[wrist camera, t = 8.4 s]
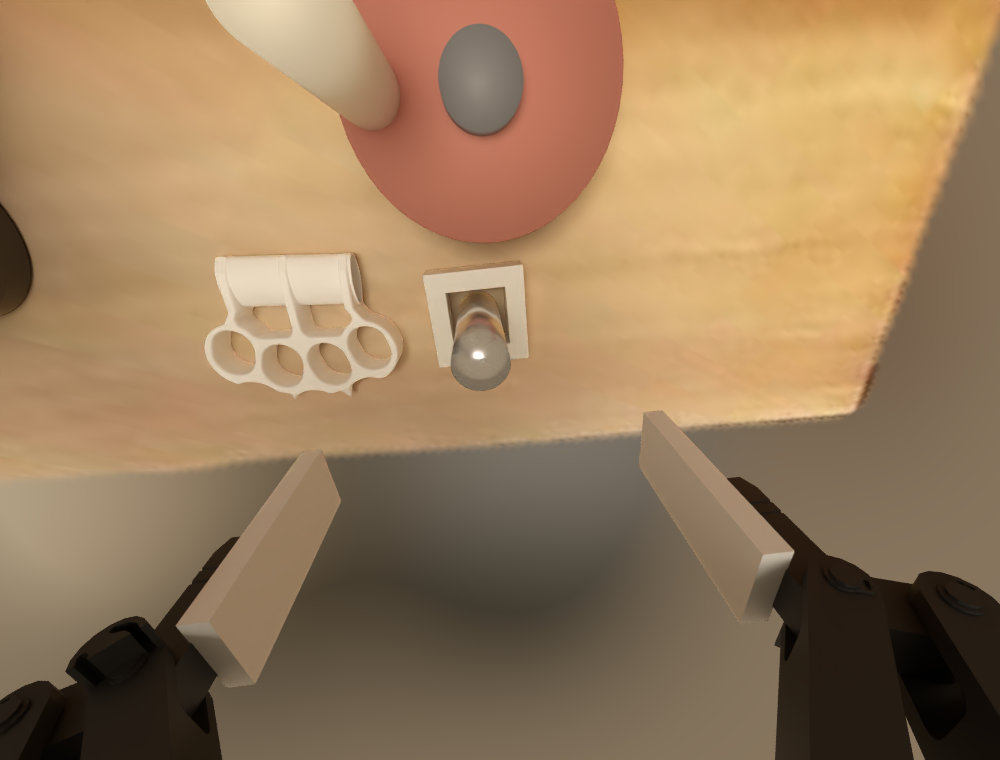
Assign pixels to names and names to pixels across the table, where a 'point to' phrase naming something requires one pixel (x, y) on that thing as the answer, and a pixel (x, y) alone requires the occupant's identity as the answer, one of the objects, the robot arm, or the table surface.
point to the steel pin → (479, 344)
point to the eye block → (475, 279)
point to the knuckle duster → (296, 321)
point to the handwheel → (455, 98)
